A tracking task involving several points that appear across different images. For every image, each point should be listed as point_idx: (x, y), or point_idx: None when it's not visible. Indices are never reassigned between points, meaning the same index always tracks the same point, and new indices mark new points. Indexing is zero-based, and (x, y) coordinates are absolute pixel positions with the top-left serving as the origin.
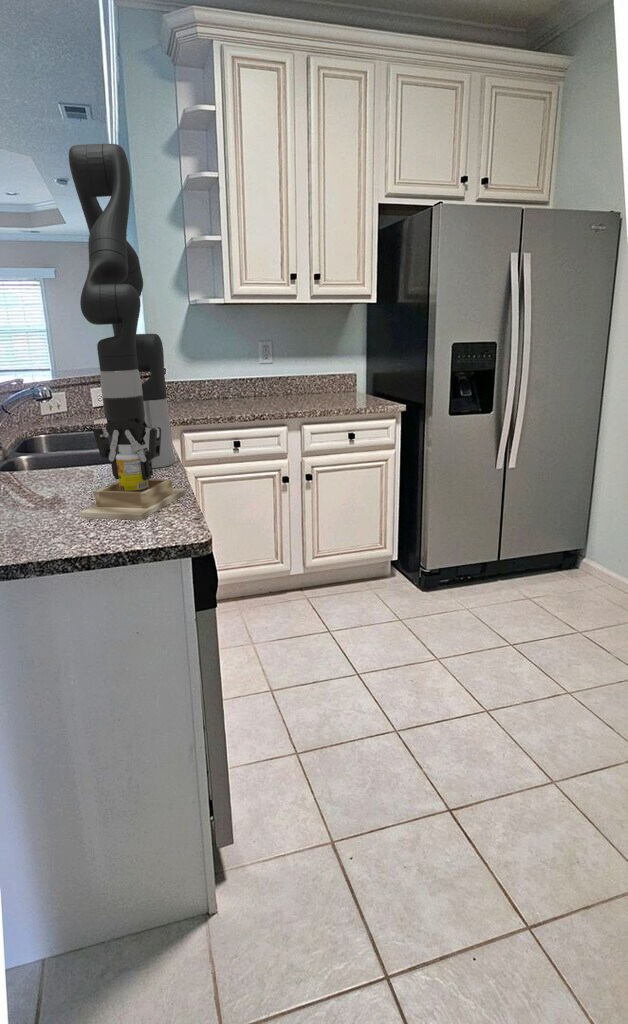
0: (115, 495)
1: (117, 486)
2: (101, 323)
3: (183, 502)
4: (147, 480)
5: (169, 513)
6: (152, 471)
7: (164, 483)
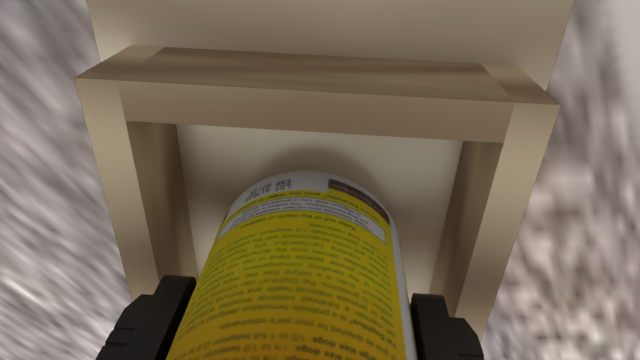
0: None
1: (156, 220)
2: None
3: (595, 140)
4: (403, 272)
5: (548, 306)
6: (480, 351)
7: (522, 216)
